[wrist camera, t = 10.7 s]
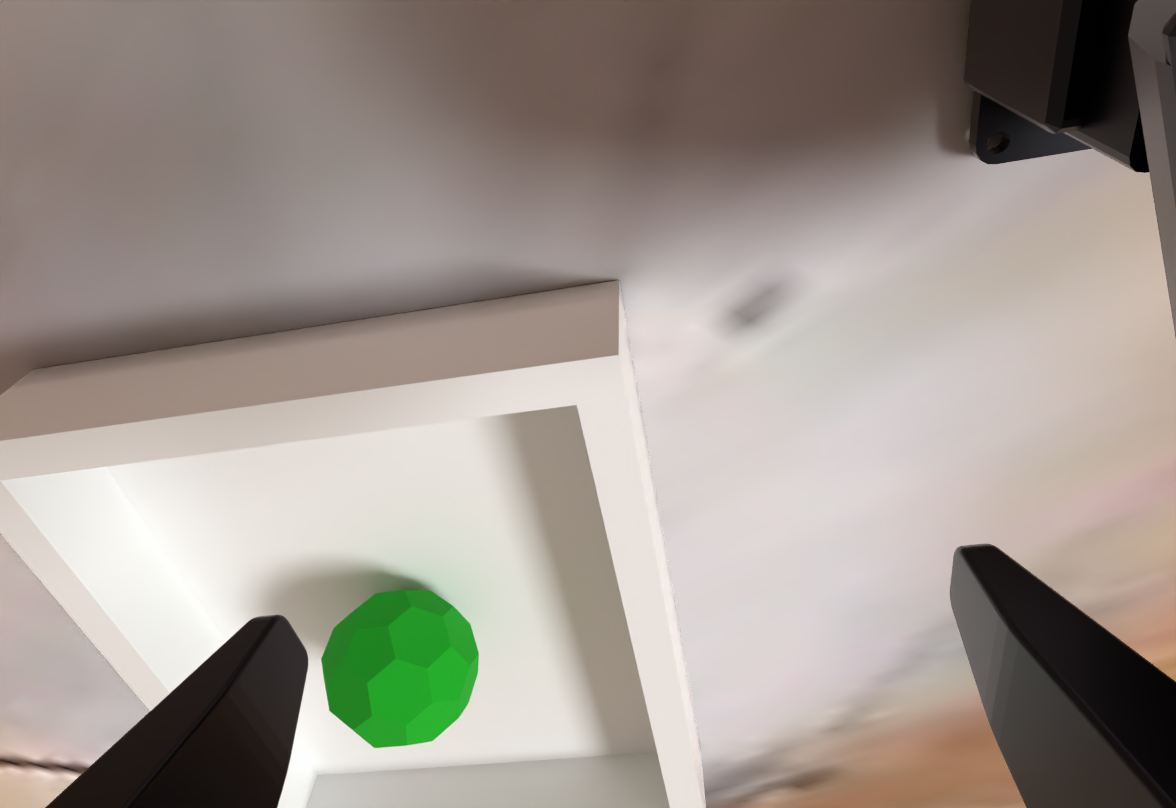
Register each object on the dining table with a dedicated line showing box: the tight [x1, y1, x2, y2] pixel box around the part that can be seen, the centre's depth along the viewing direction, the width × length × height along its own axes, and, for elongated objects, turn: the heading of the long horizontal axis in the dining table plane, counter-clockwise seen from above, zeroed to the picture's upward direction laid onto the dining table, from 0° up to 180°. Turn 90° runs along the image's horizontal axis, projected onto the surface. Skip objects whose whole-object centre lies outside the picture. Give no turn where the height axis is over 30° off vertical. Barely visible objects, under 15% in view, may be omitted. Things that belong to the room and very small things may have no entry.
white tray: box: [0, 280, 706, 808], centre depth 26 cm, size 18×22×4 cm
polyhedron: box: [321, 590, 479, 748], centre depth 25 cm, size 5×5×5 cm
